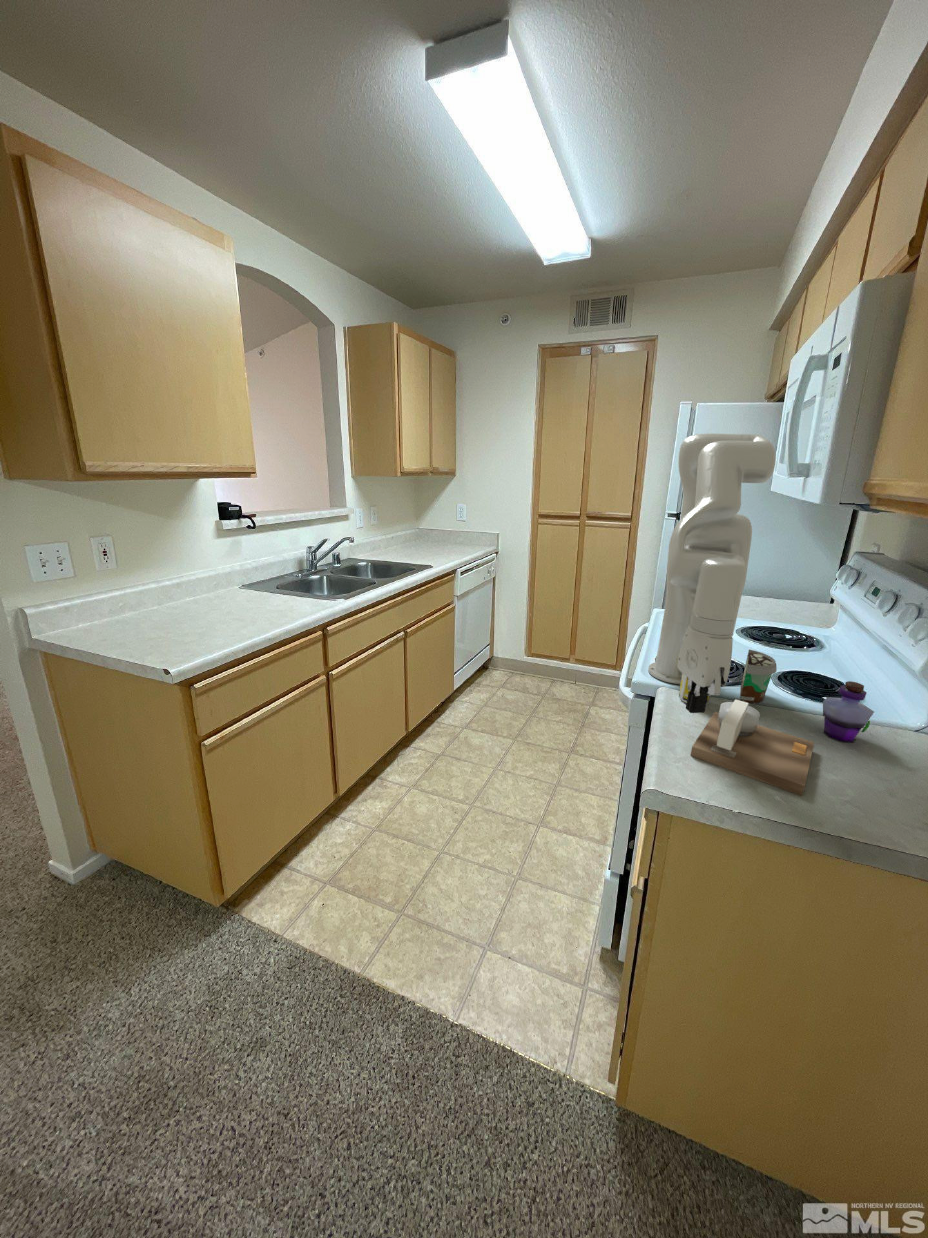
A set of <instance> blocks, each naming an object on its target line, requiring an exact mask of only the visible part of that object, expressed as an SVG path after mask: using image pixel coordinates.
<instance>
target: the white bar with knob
mask: <svg viewBox="0 0 928 1238" xmlns="http://www.w3.org/2000/svg"><path fill="white" fill-rule="evenodd" d="M749 704H750V703H747V702H743V701H740V700H739V699H734V701H725V702H722V703H721V704H720V706H719V711H718V713H719V715H718V721H719V723H721V728H720V732H719V737H718V741H717V746H719V747H722V748H725V749H728V750H731V749H732V747H733V745H734V743H735V741H736V739H737V737H738V735H739V733H740V732H754V731H755V730H756V728H757V725H759V719H760V716H761V714H760V712H759V711H758V710H757V709H756V708H754V707H752V706H750V705H749Z"/></svg>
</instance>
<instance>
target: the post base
mask: <svg viewBox="0 0 928 1238" xmlns="http://www.w3.org/2000/svg"><path fill="white" fill-rule="evenodd" d="M718 715H719V712H717V711H714V712H713V714H712V716H710V718H709V720H708V722H707V723H706V725H705V727H703V729H702V730H701V733H700V734H699V735H698V737H697V738H696V740H695V742H694V743H693V744H692V747H691V752H690V756H691V757H693V758H696V759H699V760H702V761H704V762H708V763H710V764H713V765H716V766H718V767H721V768H724V769H727V770H730V771H732V772H735V773H737V774H740V775H743V776H746V777H748V778H751V779H755V780H756V781H760V782H762V783H765V784H768V785H770V786H773V787H776V788H778V789H782V790H785V791H788V792H789V793H793V794H795V795H799V796H801V797H803V794H804V790H805V788H806V784H807V777H808V774H809V769H810V764H811V759H812V753H813V749H814V744H815V741H812V740H809V739H805V738H801V737H799V736H795V735H792V734H788V733H785V732H783V731H779V730H776V729H772V728H769V727H766V726H762V725H760V724H757V728H756V730H755V731H754V732H740V733H739V735H738V737H737V739H736V741H735V743H734V745H733V747H732V749H731V750H728V749H725V748H722V747H719V746H717V741H718V737H719V732H720V728H721V723H719V721H718Z"/></svg>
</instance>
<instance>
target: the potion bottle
mask: <svg viewBox="0 0 928 1238" xmlns="http://www.w3.org/2000/svg"><path fill="white" fill-rule="evenodd" d="M864 689H865V685H863V684H862V683H859V682H856V681H852V680H851V681H850V680H849V681H845V684H843V685H841V686H840V687H839V690H838V695H840V696H841V697H835V696H834V697H831V696H830V697H829V696H827V697H826V698H825V699H824V700H822V716H823V717H824V718H823V720H824V721H823V722H824V723H823V725H824V726H823V727H824V728H823V732H822V733H823V734H824V735H825V736H826V737H828V738H829V739H832V740H834V741H838V742H840V743H844V744H845V743H846V744H854V742H855V741H856V737H857V736H858V734H859V733H860V732H861V733H865V732H866V731H867V730H868V729H869V727H870V725H871V721H870V719H871V717H872V716H873V714H874V713H875V710H872V709H871V708H869V706H866V705H865V704H863V703H861V702H860V701H864V700H865V699H866V697H867V692H866V691H865V690H864ZM861 729H862V730H861Z"/></svg>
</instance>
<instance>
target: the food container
mask: <svg viewBox="0 0 928 1238" xmlns="http://www.w3.org/2000/svg"><path fill="white" fill-rule="evenodd" d="M776 662H777V661H776V659H775V658H773V657H772V656H770V655H768V654H766V653H764V652H761V651H757V650H754V649H748V653H747V655H746V662H745V665H744V671H743V675H742V678H741V684H740V688H739V689H740V690H739V699H738V700H740V701H743V702H747V703H749V704H760V703H762V702H763V701H764V699H765V696H766V692H767V690H768V687H769V683H770V681H771V678H772V676H773V675H774V674H776V673H777V669H778V667H777V663H776Z"/></svg>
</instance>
